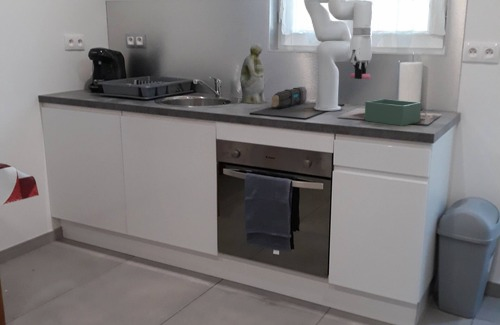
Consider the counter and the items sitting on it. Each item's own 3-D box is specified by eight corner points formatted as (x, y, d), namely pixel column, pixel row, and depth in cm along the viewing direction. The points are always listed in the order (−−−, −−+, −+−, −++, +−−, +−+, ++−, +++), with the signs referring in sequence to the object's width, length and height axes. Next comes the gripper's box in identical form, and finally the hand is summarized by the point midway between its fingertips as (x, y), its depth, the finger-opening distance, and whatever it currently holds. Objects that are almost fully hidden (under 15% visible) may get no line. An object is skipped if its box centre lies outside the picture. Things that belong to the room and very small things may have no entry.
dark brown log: (266, 114, 250) (295, 99, 274) (278, 119, 248) (306, 103, 271) (270, 93, 245) (298, 80, 269) (282, 97, 243) (310, 83, 266)
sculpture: (253, 104, 266) (253, 43, 258) (235, 101, 276) (234, 43, 269) (269, 102, 273) (269, 43, 266) (251, 99, 283) (251, 42, 276)
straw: (348, 78, 220) (349, 73, 219) (351, 77, 221) (351, 72, 221) (368, 79, 213) (369, 74, 212) (371, 79, 214) (371, 74, 214)
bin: (364, 120, 218) (365, 101, 216) (382, 116, 227) (383, 98, 225) (402, 125, 206) (403, 106, 204) (419, 121, 215) (421, 102, 213)
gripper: (365, 32, 220) (363, 76, 225) (342, 32, 210) (340, 79, 214) (381, 32, 215) (378, 77, 219) (357, 32, 205) (356, 80, 209)
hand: (360, 78), depth 217 cm, fingers closed on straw, 2 cm apart
